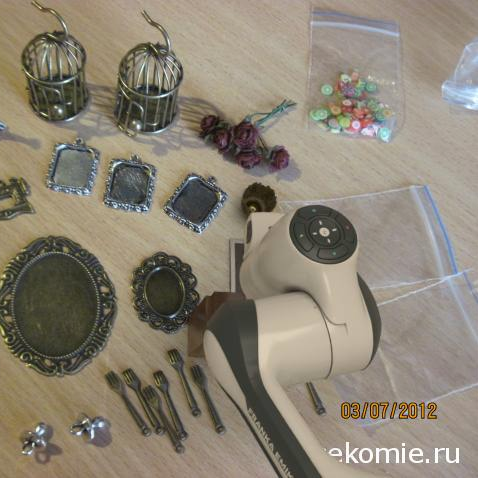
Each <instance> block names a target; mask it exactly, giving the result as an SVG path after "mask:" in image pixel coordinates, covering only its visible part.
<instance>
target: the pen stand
mask: <svg viewBox="0 0 478 478" xmlns="http://www.w3.org/2000/svg"><path fill="white" fill-rule="evenodd" d="M244 298H245V296H243V293H237V292H230V291H219V290H218V291H217V290H214V291H213V292H212V294H211V295H209V294H207V295H205V296H204V297H203V298H202V300H201V301H200V302H199V303H198V305H197V306H196V307H195V309H194V310H193V311H192V313H191V314H190V315H189V316H188V318H187V358H204V359H206V357H205V352H204V345H203V330H204V328H205V326H206V325H207V323H208V321H209V320H210V318H211V317H212V315H213V314H214V313H215V312H216V310H217V309H218V308H219V307H220V306H221V305H222V304H223V303H224V302H229V301H238V300H242V299H244Z"/></svg>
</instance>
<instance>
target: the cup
mask: <svg viewBox="0 0 478 478" xmlns="http://www.w3.org/2000/svg"><path fill="white" fill-rule="evenodd" d="M277 199H278V196H277V195H276V190H275V189H274V188H272V187H271V185H269V184H268V185H264V184H262V182H257V181H255V182H253V183H252V184H249V185H248V186H247V187H246V188H245V189H244V191H243V193H242V196H241V200H240V209H241V212H242V213H243V215H244V216H245V217H246V218H248V217H249V215H250V214H251V213H255V212H272V213H273V211H274V209H275V208H276V207H277V203H278V201H277ZM252 210H253V211H252Z"/></svg>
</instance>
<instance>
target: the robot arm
mask: <svg viewBox="0 0 478 478" xmlns="http://www.w3.org/2000/svg"><path fill="white" fill-rule="evenodd" d="M243 240H244V256H243V260H244V261H243V263H242V265H241V268H240V275H239V277H240V284H241V288H242V290H243V296H245V298H246V300H238V301H229V302H224V303H223V304H222V305H221V306H220V307H219V308H218V309H217V310H216V312H215V313H214V314H213V315H212V317H211V318H210V320H209V321H208V323H207V325H206V326H205V328H204V330H203V345H204V352H205V357H206V358H205V360H206V363H207V366H208V368H209V370H210V373H211V374H212V375H213V377H214V379H215V381H216V383H217V384H218V386H219V387H220V389H221V390H222V391H223V392H224V394H225V395H226V396H227V398H228V399H229V400H230V402H231V403H232V405H234V407H235V408H236V409H237V411H238V412H239V414H240V416H241V418H242V419H243V421H244V422H245V424H246V425H247V427H248V430H250V433H251V434H252V436H253V437H254V439H255V441H256V442H257V444H258V445H259V447H260V449H261V451H262V452H263V454H264V456H265V458H266V459H267V461H268V463H269V465H270V466H271V468H272V469H273V471H274V473H275V474H276V476H277V477H278V478H396V477H395V476H394V477H393V476H387V475H383V474H379V473H373V472H369V471H366V470H365V471H364V470H361V469H358V468H356V467H353V466H350V465H348V464H346V463H343V462H342V461H340V460H338V459H337V458H335V457H334V456H333V455H332V454H330V453H329V452H328V451H327V450H326V449H325V448H324V446H322V444H321V443H320V441H319V440H318V438H317V437H316V436H315V434H314V433H313V431H312V430H311V428H310V427H309V426H308V424H307V423H306V421H305V420H304V418H303V417H302V415H301V414H300V412H299V411H298V409H297V408H296V406H295V405H294V403H293V402H292V400H291V399H290V397H289V395H288V394H287V393H286V391H285V389H287V388H292V387H296V386H299V385H304V384H307V383H312V382H316V381H320V380H321V381H323V380H328V379H332V378H336V377H337V378H338V377H340V376H344V375H348V374H353V373H356V372H360V371H361V372H362V371H364V370H366V369H367V368H368V367H369V366H370V365H371V363H372V362H373V360H374V358H375V356H376V354H377V352H378V349H379V345H380V340H381V336H382V329H383V328H382V318H381V314H380V310H379V307H378V304H377V301H376V299H375V297H374V295H373V293H372V290H371V289H370V287H369V285H368V284H367V282H366V281H365V280H364V279H363V277H362V276H361V274H360V273H359V272H358V270H357V264H358V258H359V253H360V239H359V234H358V232H357V230H356V227H355V225H354V224H353V222H352V221H351V220H350V219H349V218H348V217H347V216H346V215H345V214H344V213H343V212H341V211H339V210H337V209H335V208H333V207H330V206H328V205H323V204H305V205H301V206H298V207H296V208H294V209H291V210H290V211H289V212H287V213H283V212H282V213H280V212H273V211H272V212H255V213H254V212H253V213H251V214H250V215H249V217H247V220H246V221H245V224H244V227H243Z"/></svg>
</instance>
